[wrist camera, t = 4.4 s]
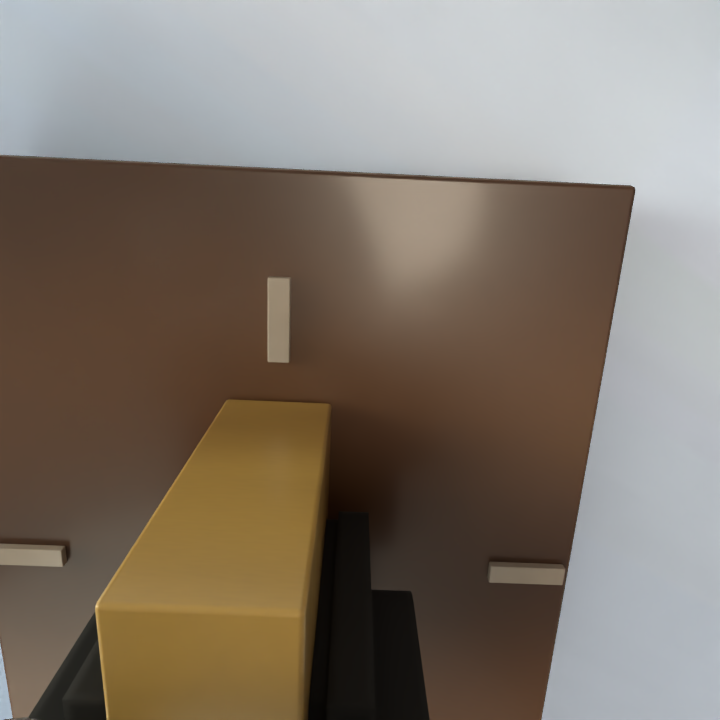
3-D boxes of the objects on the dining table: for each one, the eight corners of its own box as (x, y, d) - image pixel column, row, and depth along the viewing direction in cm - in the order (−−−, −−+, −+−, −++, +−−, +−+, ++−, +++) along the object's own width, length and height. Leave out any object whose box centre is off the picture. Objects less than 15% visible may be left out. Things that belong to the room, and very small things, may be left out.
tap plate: (28, 162, 11) (-94, 149, 8) (567, 188, 11) (642, 185, 8) (90, 704, 15) (24, 830, 12) (491, 717, 15) (523, 844, 12)
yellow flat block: (226, 397, 9) (76, 626, 4) (331, 402, 10) (302, 633, 4) (233, 698, 11) (134, 1100, 6) (321, 701, 11) (292, 1104, 6)
